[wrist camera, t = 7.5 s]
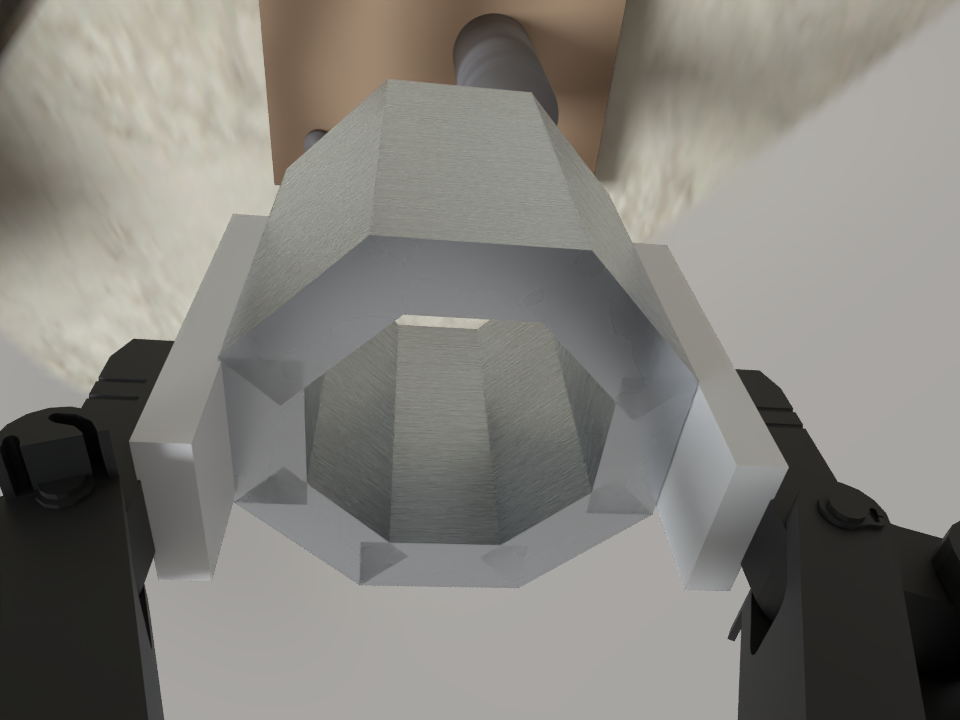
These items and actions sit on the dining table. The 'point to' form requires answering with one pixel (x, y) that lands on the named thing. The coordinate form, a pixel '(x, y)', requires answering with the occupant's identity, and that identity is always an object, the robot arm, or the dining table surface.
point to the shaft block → (435, 59)
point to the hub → (449, 349)
